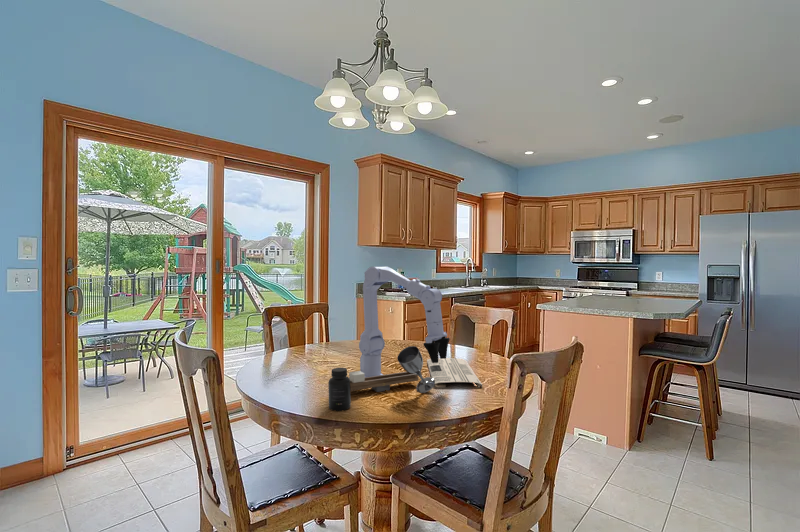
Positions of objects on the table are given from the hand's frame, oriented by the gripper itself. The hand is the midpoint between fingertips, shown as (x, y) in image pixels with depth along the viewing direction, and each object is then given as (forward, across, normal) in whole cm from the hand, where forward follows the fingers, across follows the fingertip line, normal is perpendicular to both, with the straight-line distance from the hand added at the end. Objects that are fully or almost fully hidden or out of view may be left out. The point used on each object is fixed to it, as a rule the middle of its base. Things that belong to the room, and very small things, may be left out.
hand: (439, 360), depth 143 cm
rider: (+4, -16, +25) cm, 30 cm away
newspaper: (+10, +22, +4) cm, 25 cm away
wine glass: (+8, -3, +5) cm, 10 cm away
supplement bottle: (+8, -31, +22) cm, 39 cm away
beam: (+8, -9, +20) cm, 23 cm away
